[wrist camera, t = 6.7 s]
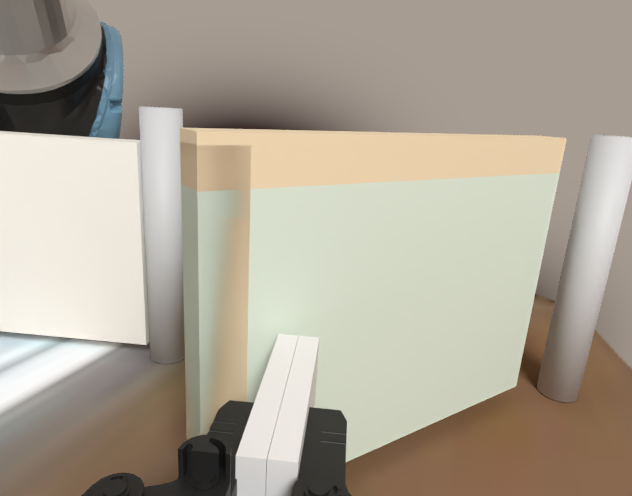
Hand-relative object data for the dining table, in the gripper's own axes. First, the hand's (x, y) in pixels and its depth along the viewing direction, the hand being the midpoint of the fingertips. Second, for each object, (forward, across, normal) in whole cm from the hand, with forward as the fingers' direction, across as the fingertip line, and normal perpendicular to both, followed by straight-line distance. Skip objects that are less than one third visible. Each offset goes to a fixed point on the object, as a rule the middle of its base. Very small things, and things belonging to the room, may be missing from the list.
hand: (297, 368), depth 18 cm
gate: (+5, +4, -6) cm, 9 cm away
